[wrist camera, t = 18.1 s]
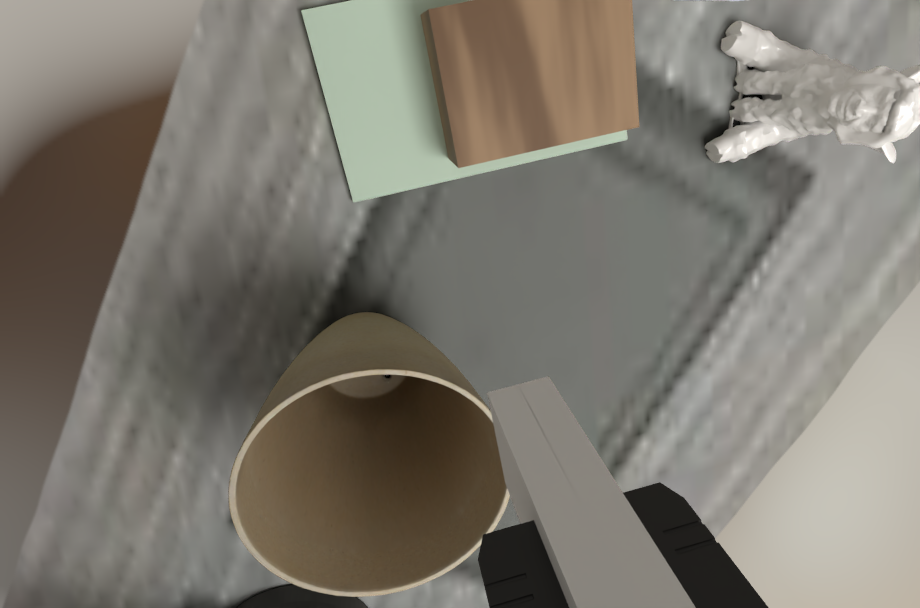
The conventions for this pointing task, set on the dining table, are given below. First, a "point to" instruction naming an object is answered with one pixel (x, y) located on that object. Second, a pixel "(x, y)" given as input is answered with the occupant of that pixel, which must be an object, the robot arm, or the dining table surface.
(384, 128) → the mat
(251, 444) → the plant pot
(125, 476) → the dining table surface
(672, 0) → the white mug
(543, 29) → the walnut slab
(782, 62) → the seated beast figurine
